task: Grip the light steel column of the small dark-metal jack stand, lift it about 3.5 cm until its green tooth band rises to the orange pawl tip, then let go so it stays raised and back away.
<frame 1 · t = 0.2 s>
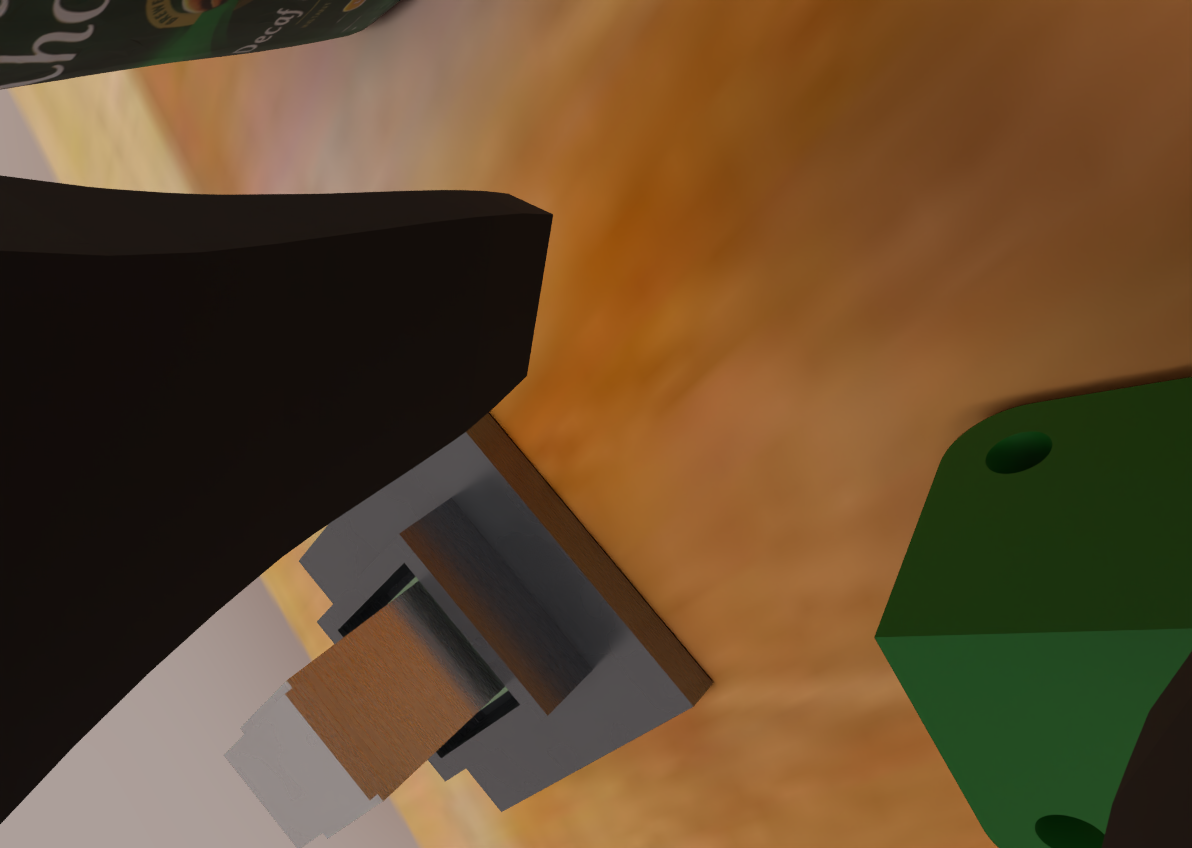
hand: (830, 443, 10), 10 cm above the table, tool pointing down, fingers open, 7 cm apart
stand: (493, 605, 31), on the table
column: (388, 695, 28), point 4 cm above the table, slide at 0.0 cm
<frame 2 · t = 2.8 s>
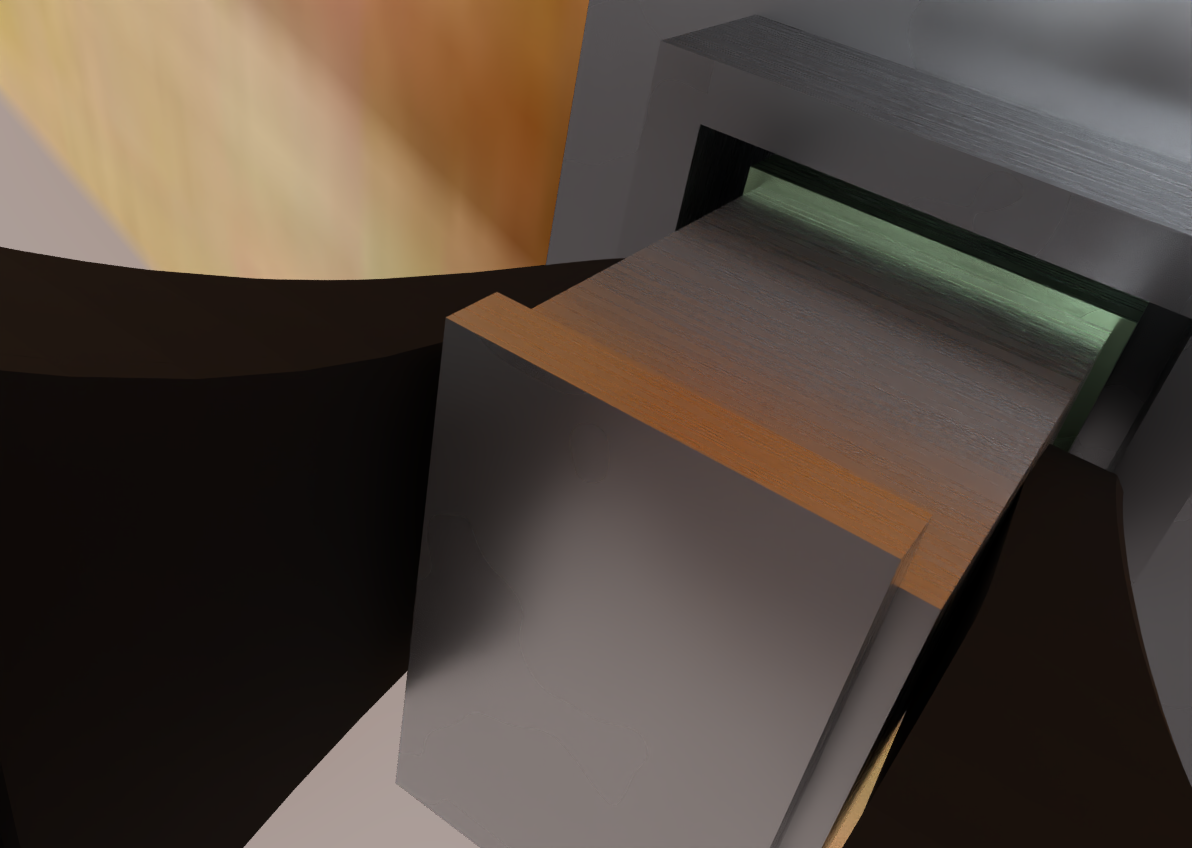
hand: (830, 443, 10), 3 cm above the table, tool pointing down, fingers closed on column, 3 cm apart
stand: (943, 325, 13), on the table
column: (787, 487, 10), point 4 cm above the table, slide at 0.0 cm, touching gripper
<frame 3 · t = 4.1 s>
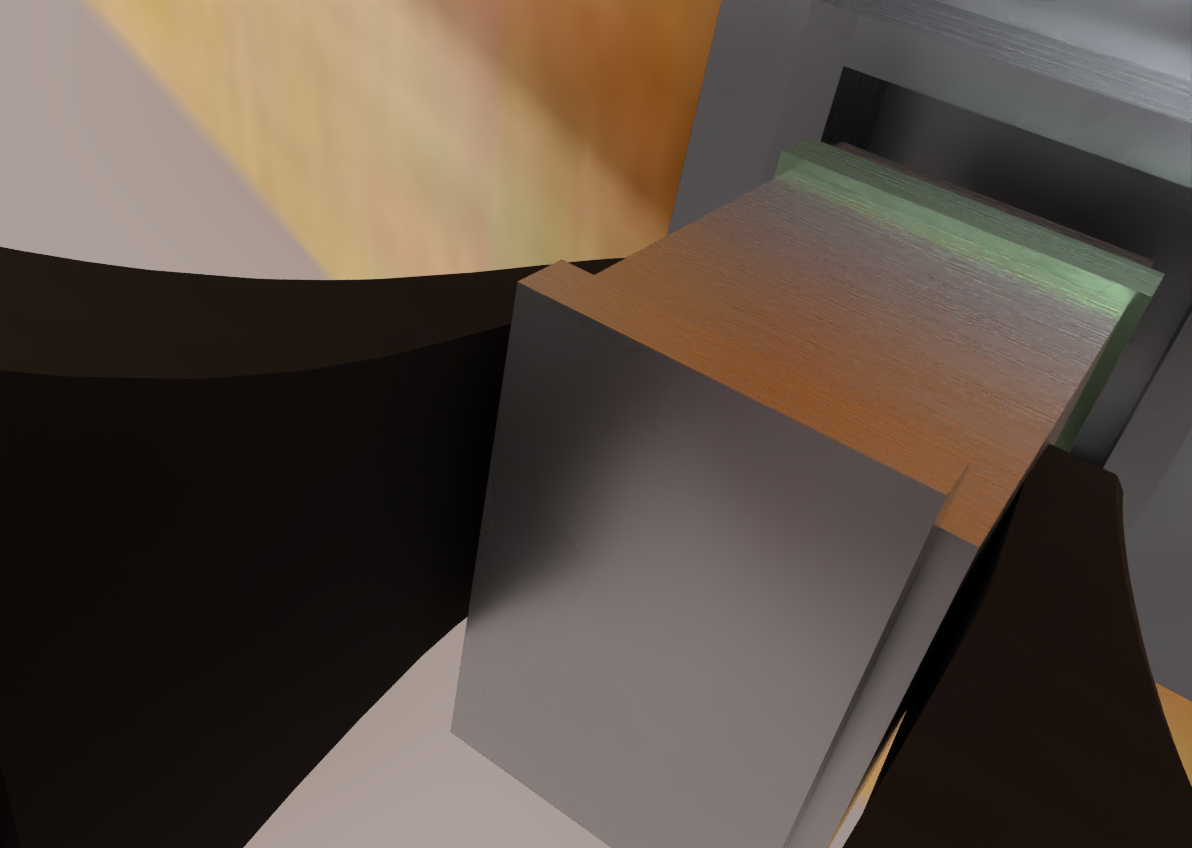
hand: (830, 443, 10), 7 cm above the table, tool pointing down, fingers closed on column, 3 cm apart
stand: (1021, 244, 15), on the table
column: (820, 453, 10), point 7 cm above the table, slide at 2.8 cm, touching gripper
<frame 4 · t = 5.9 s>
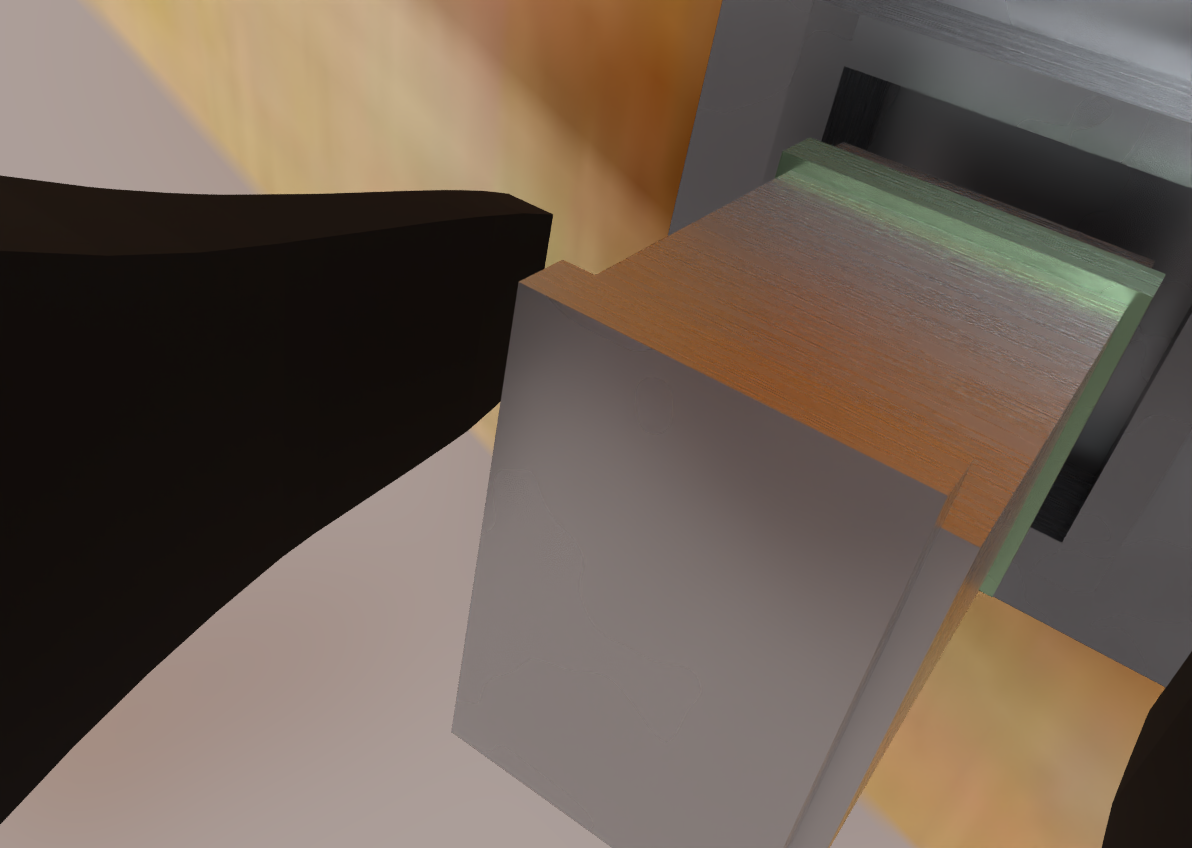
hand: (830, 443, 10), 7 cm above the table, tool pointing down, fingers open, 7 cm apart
stand: (1022, 244, 15), on the table
column: (820, 453, 10), point 7 cm above the table, slide at 2.8 cm
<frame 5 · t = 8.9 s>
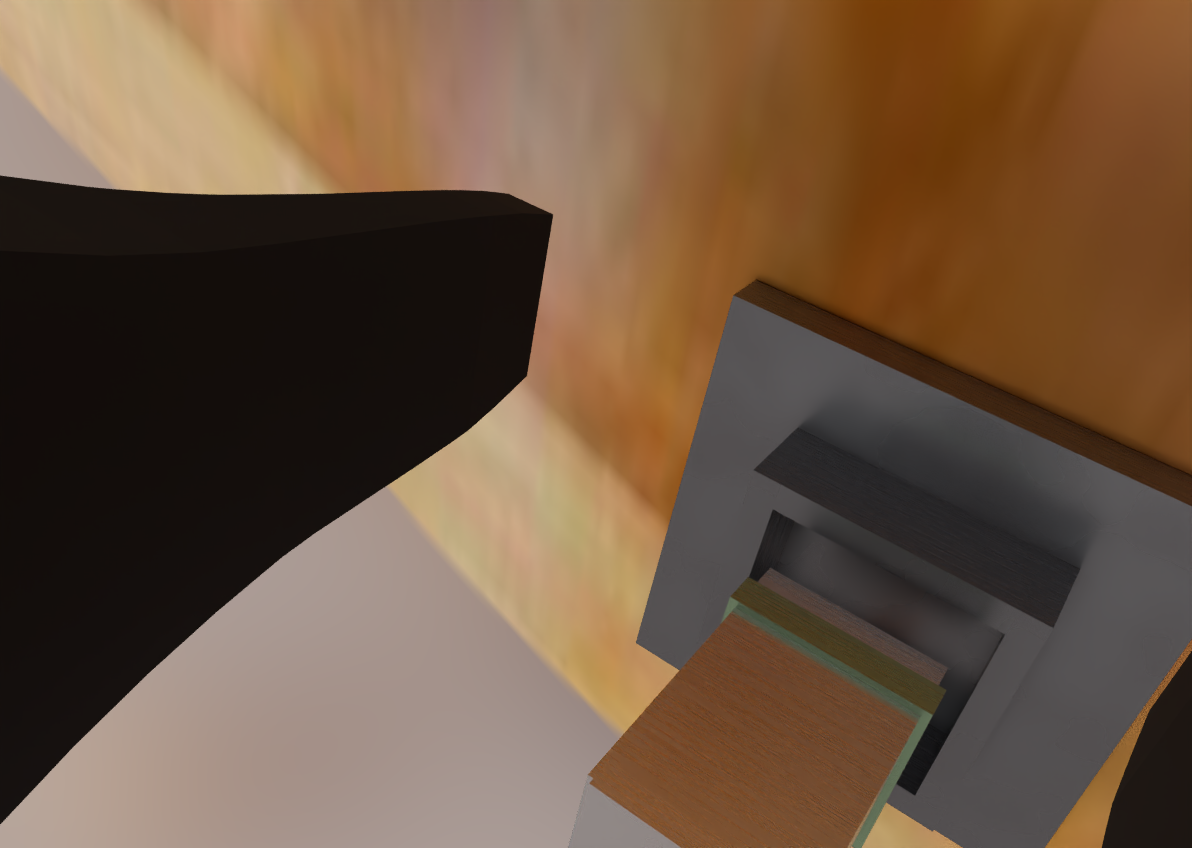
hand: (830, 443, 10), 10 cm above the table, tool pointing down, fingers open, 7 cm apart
stand: (899, 577, 23), on the table
column: (749, 793, 18), point 7 cm above the table, slide at 2.8 cm
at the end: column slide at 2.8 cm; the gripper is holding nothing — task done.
